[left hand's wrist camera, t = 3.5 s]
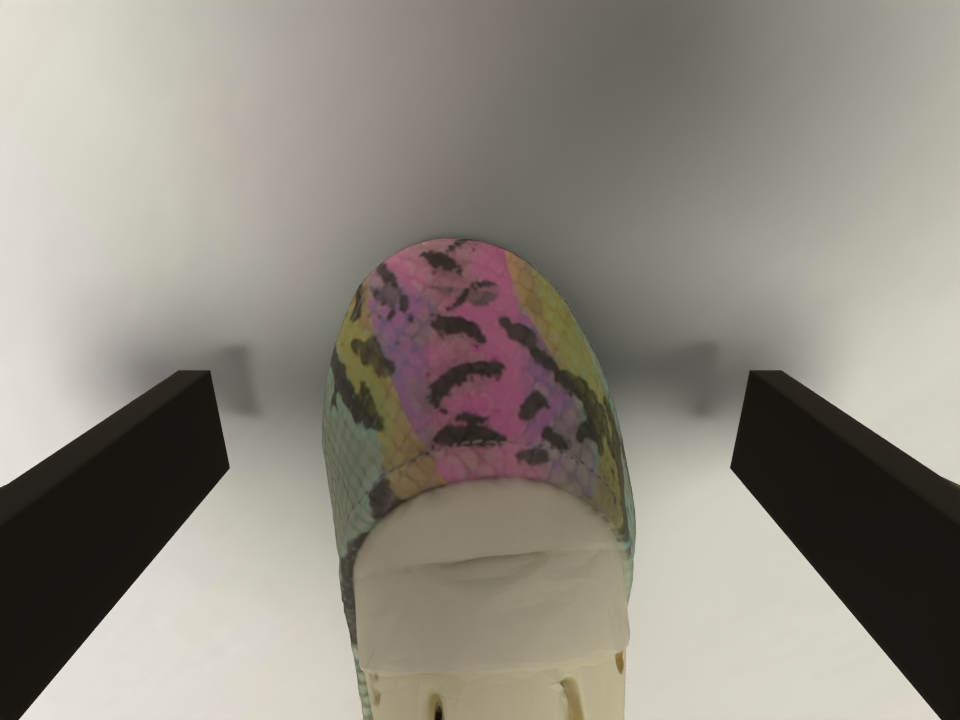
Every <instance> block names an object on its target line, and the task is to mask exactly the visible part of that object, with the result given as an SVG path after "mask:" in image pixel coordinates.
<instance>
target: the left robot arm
mask: <svg viewBox="0 0 960 720" xmlns="http://www.w3.org/2000/svg"><path fill="white" fill-rule="evenodd" d="M229 468H230V466H229V462H228V457H227V452H226V447H225V442H224V437H223V432H222V427H221V422H220V417H219V412H218V407H217V402H216V397H215V392H214V387H213V382H212V377H211V372H210V370H179V371H177V372H176V373H174V374H173V375H171V376H170V377H168V378H167V379H165V380H164V381H162V382H161V383H159V384H158V385H156V386H155V387H153V388H152V389H150V390H148V391H147V392H145V393H144V394H142V395H141V396H139V397H138V398H136V399H135V400H133V401H132V402H130V403H129V404H127V405H126V406H124V407H123V408H121V409H120V410H118V411H117V412H115V413H114V414H112V415H111V416H109V417H108V418H106V419H105V420H103V421H102V422H100V423H99V424H97V425H96V426H94V427H93V428H91V429H90V430H88V431H87V432H85V433H84V434H82V435H81V436H79V437H78V438H76V439H75V440H73V441H72V442H70V443H69V444H67V445H66V446H64V447H63V448H61V449H60V450H58V451H57V452H55V453H54V454H52V455H51V456H49V457H48V458H46V459H45V460H43V461H42V462H40V463H39V464H37V465H36V466H34V467H33V468H31V469H30V470H28V471H27V472H25V473H24V474H22V475H21V476H19V477H18V478H16V479H15V480H13V481H12V482H10V483H9V484H7V485H5V486H2V487H0V720H19V719H20V718H21V716H22V715H23V714H24V713H25V712H26V710H27V709H28V708H29V707H30V706H31V704H32V703H33V702H34V701H35V700H36V698H37V697H38V696H39V695H40V694H41V693H42V691H43V690H44V689H45V688H46V687H47V685H48V684H49V683H50V682H51V681H52V679H53V678H54V677H55V676H56V675H57V673H58V672H59V671H60V670H61V669H62V668H63V666H64V665H65V664H66V663H67V662H68V660H69V659H70V658H71V657H72V656H73V654H74V653H75V652H76V651H77V650H78V648H79V647H80V646H81V645H82V644H83V642H84V641H85V640H86V639H87V638H88V637H89V635H90V634H91V633H92V632H93V631H94V629H95V628H96V627H97V626H98V625H99V623H100V622H101V621H102V620H103V619H104V617H105V616H106V615H107V614H108V613H109V611H110V610H111V609H112V608H113V607H114V606H115V604H116V603H117V602H118V601H119V600H120V598H121V597H122V596H123V595H124V594H125V592H126V591H127V590H128V589H129V588H130V586H131V585H132V584H133V583H134V582H135V581H136V579H137V578H138V577H139V576H140V575H141V573H142V572H143V571H144V570H145V569H146V567H147V566H148V565H149V564H150V563H151V561H152V560H153V559H154V558H155V557H156V555H157V554H158V553H159V552H160V551H161V550H162V548H163V547H164V546H165V545H166V544H167V542H168V541H169V540H170V539H171V538H172V536H173V535H174V534H175V533H176V532H177V530H178V529H179V528H180V527H181V526H182V524H183V523H184V522H185V521H186V520H187V519H188V517H189V516H190V515H191V514H192V513H193V511H194V510H195V509H196V508H197V507H198V505H199V504H200V503H201V502H202V501H203V499H204V498H205V497H206V496H207V495H208V494H209V492H210V491H211V490H212V489H213V488H214V486H215V485H216V484H217V483H218V482H219V480H220V479H221V478H222V477H223V476H224V474H225V473H226V472H227V471H228V470H229ZM730 468H731V470H732V471H733V472H734V473H735V474H736V476H737V477H738V478H739V479H740V480H741V482H742V483H743V484H744V485H745V486H746V488H747V489H748V490H749V491H750V492H751V494H752V495H753V496H754V497H755V498H756V499H757V501H758V502H759V503H760V504H761V505H762V507H763V508H764V509H765V510H766V511H767V513H768V514H769V515H770V516H771V517H772V519H773V520H774V521H775V522H776V523H777V524H778V526H779V527H780V528H781V529H782V530H783V532H784V533H785V534H786V535H787V536H788V538H789V539H790V540H791V541H792V542H793V544H794V545H795V546H796V547H797V548H798V550H799V551H800V552H801V553H802V554H803V555H804V557H805V558H806V559H807V560H808V561H809V563H810V564H811V565H812V566H813V567H814V569H815V570H816V571H817V572H818V573H819V575H820V576H821V577H822V578H823V579H824V581H825V582H826V583H827V584H828V585H829V586H830V588H831V589H832V590H833V591H834V592H835V594H836V595H837V596H838V597H839V598H840V600H841V601H842V602H843V603H844V604H845V606H846V607H847V608H848V609H849V610H850V611H851V613H852V614H853V615H854V616H855V617H856V619H857V620H858V621H859V622H860V623H861V625H862V626H863V627H864V628H865V629H866V631H867V632H868V633H869V634H870V635H871V637H872V638H873V639H874V640H875V641H876V642H877V644H878V645H879V646H880V647H881V648H882V650H883V651H884V652H885V653H886V654H887V656H888V657H889V658H890V659H891V660H892V662H893V663H894V664H895V665H896V666H897V668H898V669H899V670H900V671H901V672H902V673H903V675H904V676H905V677H906V678H907V679H908V681H909V682H910V683H911V684H912V685H913V687H914V688H915V689H916V690H917V691H918V693H919V694H920V695H921V696H922V697H923V698H924V700H925V701H926V702H927V703H928V704H929V706H930V707H931V708H932V709H933V710H934V712H935V713H936V714H937V715H938V716H939V718H940V719H941V720H960V485H958V484H956V483H954V482H952V481H949V480H947V479H945V478H943V477H941V476H939V475H938V474H936V473H935V472H933V471H932V470H930V469H929V468H927V467H926V466H924V465H923V464H921V463H920V462H918V461H917V460H915V459H914V458H912V457H911V456H909V455H908V454H906V453H905V452H903V451H902V450H900V449H899V448H897V447H896V446H894V445H893V444H891V443H890V442H888V441H887V440H885V439H884V438H882V437H881V436H879V435H878V434H876V433H875V432H873V431H872V430H870V429H869V428H867V427H866V426H864V425H863V424H861V423H860V422H858V421H857V420H855V419H854V418H852V417H851V416H849V415H848V414H846V413H845V412H843V411H842V410H840V409H839V408H837V407H836V406H834V405H833V404H831V403H830V402H828V401H827V400H825V399H824V398H822V397H821V396H819V395H818V394H816V393H815V392H813V391H811V390H810V389H808V388H807V387H805V386H804V385H802V384H801V383H799V382H798V381H796V380H795V379H793V378H792V377H790V376H789V375H787V374H786V373H784V372H783V371H781V370H750V372H749V377H748V382H747V387H746V392H745V397H744V402H743V407H742V412H741V417H740V422H739V427H738V432H737V437H736V442H735V447H734V452H733V457H732V462H731V466H730Z"/></svg>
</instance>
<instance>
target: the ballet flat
mask: <svg viewBox="0 0 960 720" xmlns="http://www.w3.org/2000/svg"><path fill="white" fill-rule="evenodd" d="M322 444H323V452H324V457H325V463H326V470H327V478H328V484H329V491H330V497H331V502H332V508H333V518H334V525H335V536H336V543H337V550H338V554H339V559H340V560H339V577H340V586H341V591H342V601H343V603H344V613H345V615H346V620H347V624H348V628H349V632H350V638H351V646H352V651H353V655H354V660H355V667H356V672H357V679H358V689H359V696H360V699H361V703H362V713H363V720H624V710H625V664H626V647H627V646H628V645H629V638H630V630H629V620H628V611H627V606H628V601H629V596H630V591H631V586H632V580H633V557H634V551H635V535H636V523H635V509H634V501H633V494H632V489H631V483H630V478H629V473H628V467H627V462H626V457H625V452H624V446H623V440H622V436H621V431H620V426H619V422H618V417H617V413H616V410H615V407H614V403H613V400H612V397H611V393H610V390H609V387H608V384H607V381H606V379H605V376H604V374H603V371H602V369H601V366H600V364H599V361H598V359H597V357H596V355H595V354H594V352H593V350H592V348H591V346H590V344H589V342H588V340H587V339H586V337H585V335H584V333H583V331H582V330H581V328H580V326H579V324H578V323H577V321H576V319H575V318H574V316H573V314H572V312H571V311H570V309H569V307H568V306H567V304H566V303H565V301H564V300H563V298H562V297H561V296H560V295H559V293H558V292H557V291H556V290H555V288H554V287H553V286H552V285H551V284H550V282H549V281H548V280H547V279H546V278H545V277H544V276H543V275H542V274H540V273H539V272H538V271H537V270H535V269H534V268H533V267H532V266H531V265H529V264H528V263H527V262H526V261H524V260H522V259H521V258H519V257H517V256H516V255H514V254H512V253H511V252H509V251H507V250H504V249H502V248H499V247H496V246H493V245H490V244H487V243H484V242H481V241H477V240H470V239H435V240H428V241H425V242H422V243H419V244H415V245H412V246H409V247H407V248H405V249H403V250H401V251H399V252H397V253H396V254H394V255H393V256H391V257H390V258H388V259H387V260H385V261H384V262H382V263H381V264H380V265H379V266H378V267H377V268H376V269H375V270H374V271H372V272H371V273H370V274H369V275H368V276H367V277H366V278H365V280H364V281H363V282H362V283H361V285H360V286H359V288H358V290H357V292H356V294H355V296H354V298H353V300H352V302H351V304H350V306H349V308H348V310H347V313H346V315H345V318H344V321H343V324H342V327H341V330H340V333H339V335H338V338H337V341H336V344H335V347H334V351H333V355H332V359H331V363H330V368H329V372H328V377H327V385H326V392H325V400H324V412H323V434H322Z"/></svg>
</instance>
